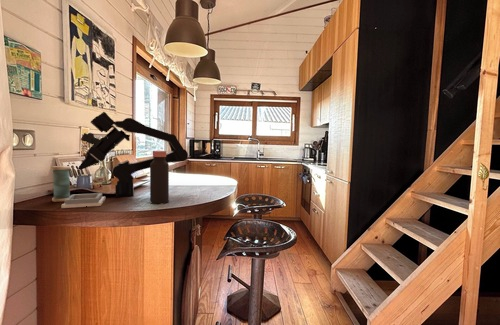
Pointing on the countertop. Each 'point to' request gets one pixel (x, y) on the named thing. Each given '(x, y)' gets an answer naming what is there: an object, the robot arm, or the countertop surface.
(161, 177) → the bottle
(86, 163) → the robot arm
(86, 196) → the grey flat square tray
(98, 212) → the countertop surface
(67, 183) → the bobbin
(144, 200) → the countertop surface
